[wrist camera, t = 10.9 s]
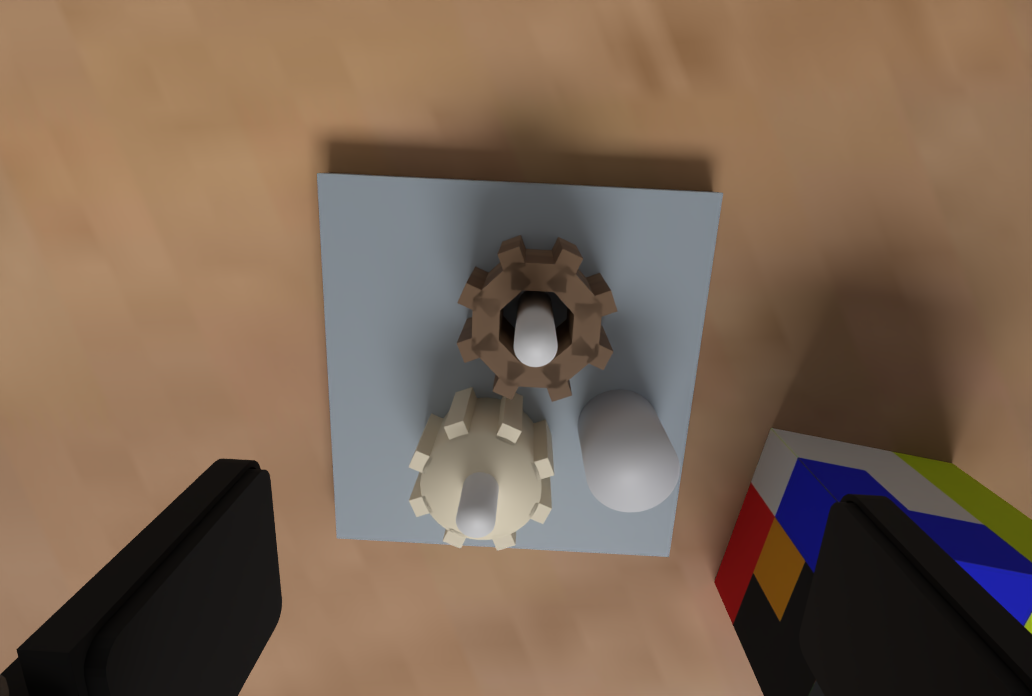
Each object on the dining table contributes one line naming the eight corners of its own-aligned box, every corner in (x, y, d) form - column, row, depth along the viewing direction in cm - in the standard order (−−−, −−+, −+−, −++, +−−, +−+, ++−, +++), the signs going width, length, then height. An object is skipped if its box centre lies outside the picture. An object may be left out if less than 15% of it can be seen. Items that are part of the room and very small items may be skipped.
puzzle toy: (770, 427, 31) (877, 545, 21) (951, 462, 31) (1137, 594, 21) (714, 581, 34) (785, 745, 24) (879, 612, 34) (1015, 786, 24)
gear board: (328, 172, 27) (249, 176, 20) (712, 191, 27) (783, 202, 19) (345, 522, 33) (289, 629, 25) (663, 539, 33) (702, 653, 25)
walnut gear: (468, 232, 26) (458, 243, 23) (610, 239, 26) (624, 251, 23) (466, 365, 28) (455, 396, 25) (597, 372, 28) (608, 405, 24)
